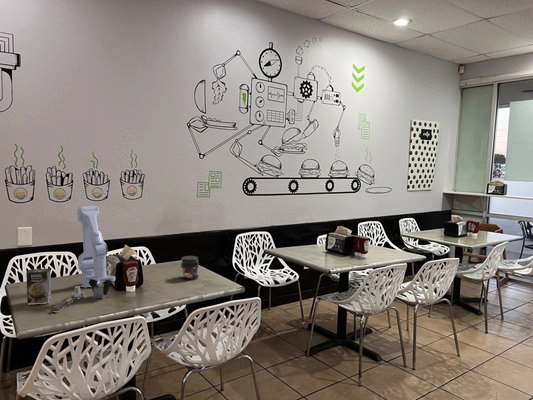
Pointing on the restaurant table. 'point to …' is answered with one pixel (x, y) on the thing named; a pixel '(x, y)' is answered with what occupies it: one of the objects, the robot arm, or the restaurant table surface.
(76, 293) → the ratchet
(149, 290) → the restaurant table surface
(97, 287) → the brushed metal cube
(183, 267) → the supplement container
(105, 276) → the robot arm
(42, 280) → the cookie box
